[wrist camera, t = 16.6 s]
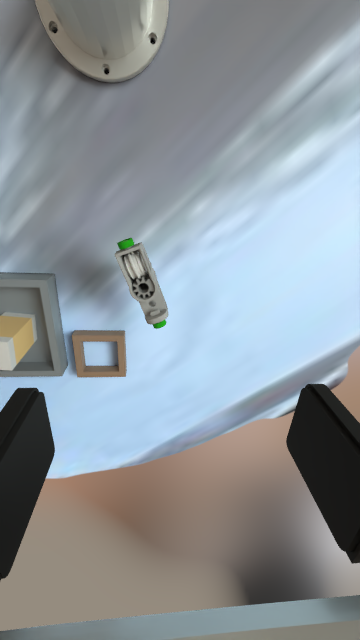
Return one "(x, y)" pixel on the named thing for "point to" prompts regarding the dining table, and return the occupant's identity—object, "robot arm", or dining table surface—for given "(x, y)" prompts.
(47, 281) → the parts tray
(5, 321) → the block
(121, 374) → the brown flat square frame
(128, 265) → the mechanical component
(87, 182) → the dining table surface
